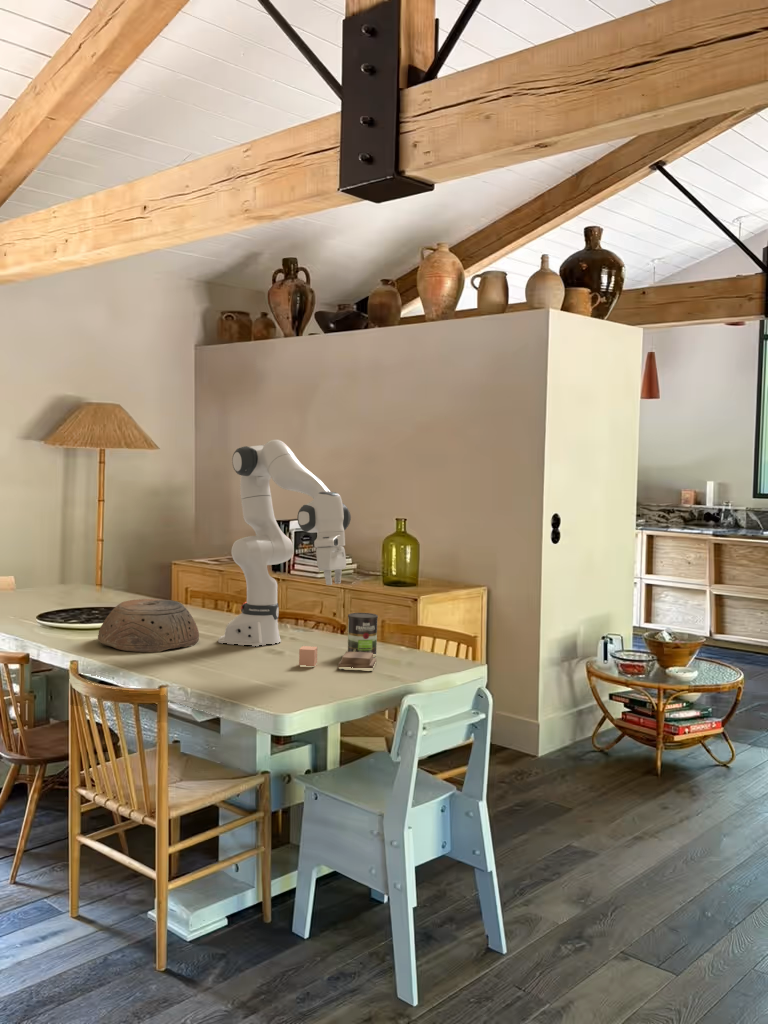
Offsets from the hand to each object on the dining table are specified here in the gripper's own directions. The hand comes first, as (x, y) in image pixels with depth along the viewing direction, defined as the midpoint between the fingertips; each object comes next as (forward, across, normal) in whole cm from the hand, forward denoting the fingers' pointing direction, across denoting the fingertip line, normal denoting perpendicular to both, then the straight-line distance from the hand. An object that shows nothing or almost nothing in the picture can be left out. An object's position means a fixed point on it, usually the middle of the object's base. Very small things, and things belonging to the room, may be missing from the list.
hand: (333, 584), depth 297 cm
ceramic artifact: (+18, -18, -76) cm, 80 cm away
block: (+26, -3, -11) cm, 29 cm away
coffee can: (+26, -24, +1) cm, 36 cm away
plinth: (+28, -7, +5) cm, 29 cm away
